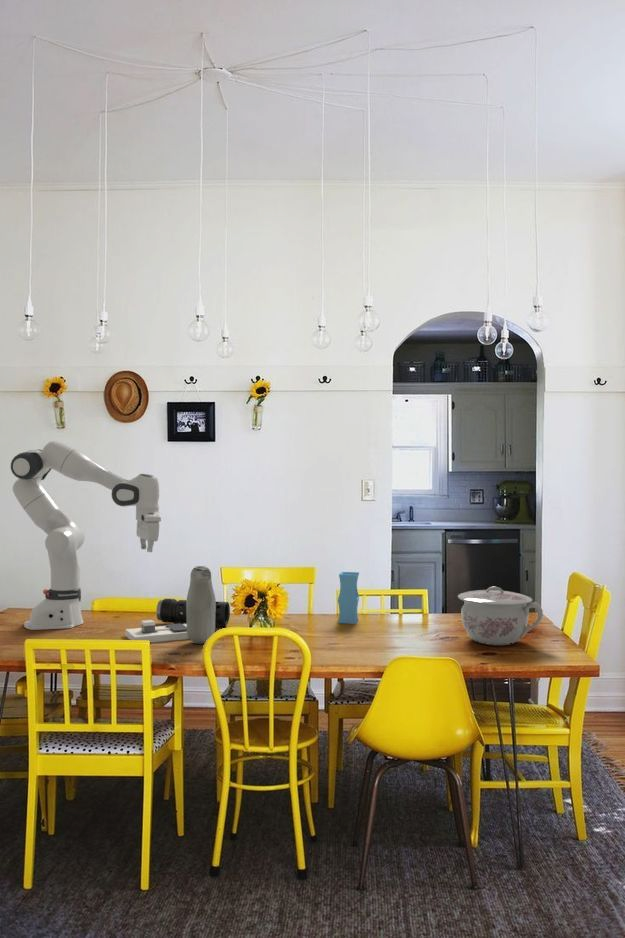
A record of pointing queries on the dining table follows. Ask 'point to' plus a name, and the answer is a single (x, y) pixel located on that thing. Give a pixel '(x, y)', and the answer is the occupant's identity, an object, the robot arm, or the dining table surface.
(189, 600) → the grey bottle
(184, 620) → the black camera lens
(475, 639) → the chamber pot
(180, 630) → the outlet board
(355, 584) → the vase
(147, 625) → the charger plug
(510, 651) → the dining table surface
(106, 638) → the dining table surface
